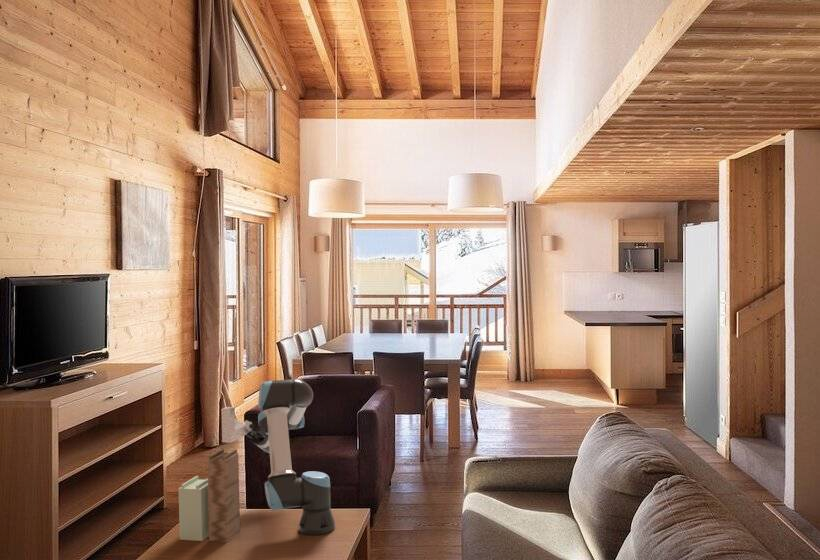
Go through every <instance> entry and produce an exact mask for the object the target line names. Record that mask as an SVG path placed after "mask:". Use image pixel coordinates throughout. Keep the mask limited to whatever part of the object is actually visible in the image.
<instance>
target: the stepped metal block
mask: <svg viewBox="0 0 820 560" xmlns="http://www.w3.org/2000/svg"><path fill="white" fill-rule="evenodd" d="M235 410H236V408H235V406H225V407H222V408H221V438H222V439H221V443H233V442H235V441H237V440H238V439H240V438H241V437H245V436H246V435H245V434H247V433H249V432H251V431H250V430H249V429H247V428H246V427H244V426H245V421H242V422H240V424H238V425H236V426H235V420H236V411H235ZM249 422H250V423H251V424H253V422H252V421H249ZM244 435H245V436H244Z"/></svg>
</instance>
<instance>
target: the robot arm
mask: <svg viewBox="0 0 820 560" xmlns="http://www.w3.org/2000/svg"><path fill="white" fill-rule="evenodd" d="M313 400H314V392H313V389H312V387H311V386H310V385H309V384H308V383H307V382H305V380H301V379H297V378H293V379H291V378H289V379H280V380H279V379H277V380H276V379H275V380H273V379H272V380H271V379H270V380H269V381H263V382H261V384H260V387H259V392H258V409H260V410H262V411H261V412H259V413H258V416H257V420H258V421H257V423H252V424H251V423H250V422H251V421H249V420H247V419H246V420H245V421H244V422H245V426H244V427H246V428H247V429H249V430H250V431H251V432H249V433H247V434H245V435H244V436H243V437H245V436H247V438H249V439H250V442H252V444H253V445H256V446H257V447H258V448H259V449H261V450H262V451H263V452H265V453H267V454H269V459H270V460H269V461H270V474H269V475H268V476H267V481H265V482H264V491H265V497H266V501H267V505H268V508H269V509H270V510H272V511H279V510H285V509H292V508H298V507H299V508H300V507H302V513H301V517H300V519H299V522H298V531H299V532H300V533H302V534H305V535H308V536H309V535H310V536H318V535H319V536H320V535H325V534H328V533H331V532H332V531H334V530H335V528H336V520H335V518H334V515H333V513H332V509H331V481H330V480H331V479H330V476H329V475H328V474H327V473H325V472H322V471H315V470H314V471H313V470H311V471H305V472H302V474H301V476H300V477H297V472H295V471H294V470H293V469H292V468H293V467H292V457H291V456H292V455H291V447H290V435H289V433H290V432H289V430H298V429H302V428H305V415H304V414H305V412H306V409H307V407H309V406H310V405H311V404H312V402H313ZM240 423H241V421H239V420H237V419H235V426H236V425H238V424H240ZM257 424H258V425H257ZM333 529H334V530H333ZM330 531H331V532H330Z"/></svg>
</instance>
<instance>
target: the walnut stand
mask: <svg viewBox="0 0 820 560" xmlns="http://www.w3.org/2000/svg"><path fill="white" fill-rule="evenodd" d="M239 464H240V463H239V453H238V449H233V450H231V451H230V452H225V449H224V448H221V449H220V450H217V451H216V452H214V453H212V454H210V455H209V456H208V459H207V478H208V500H209V536H208V537H209V542H221V543H228V542H230V541H231V540H232V539H233V538H234V537H235V536H237V535H238V534H239V533H240V532H241V513H240V510H241V509H240V477H239V476H240V471H239V469H240V468H239Z"/></svg>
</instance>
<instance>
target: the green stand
mask: <svg viewBox="0 0 820 560" xmlns="http://www.w3.org/2000/svg"><path fill="white" fill-rule="evenodd" d="M199 478H200V476H199V475H195V476H194V477H192V478H190V479H189V480H187V481H186V482H184V483H182V484H181V485H180V486H179V488H178V517H179V520H178V521H179V540H180V541H181V540H183V541H196V542H197V541H199V542H203V541H204V540H205V539H207V538H208V537H209V500H208V477H207V478H206V479H199Z"/></svg>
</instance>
